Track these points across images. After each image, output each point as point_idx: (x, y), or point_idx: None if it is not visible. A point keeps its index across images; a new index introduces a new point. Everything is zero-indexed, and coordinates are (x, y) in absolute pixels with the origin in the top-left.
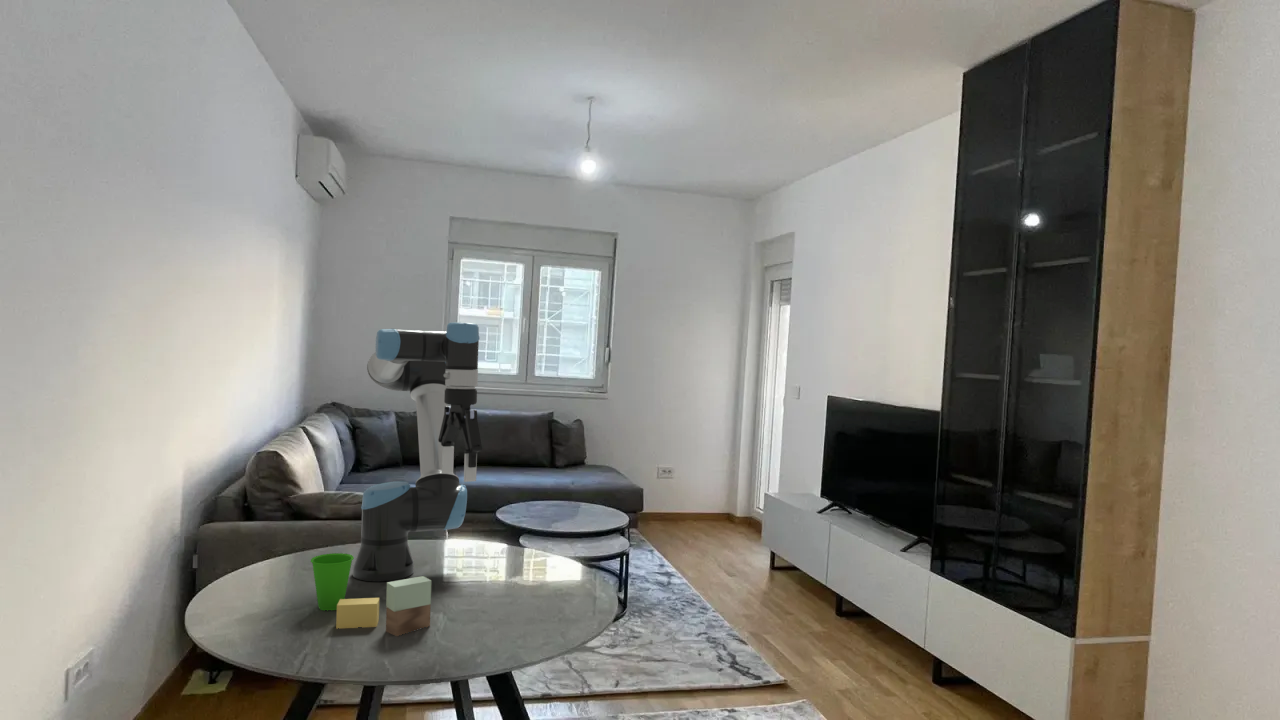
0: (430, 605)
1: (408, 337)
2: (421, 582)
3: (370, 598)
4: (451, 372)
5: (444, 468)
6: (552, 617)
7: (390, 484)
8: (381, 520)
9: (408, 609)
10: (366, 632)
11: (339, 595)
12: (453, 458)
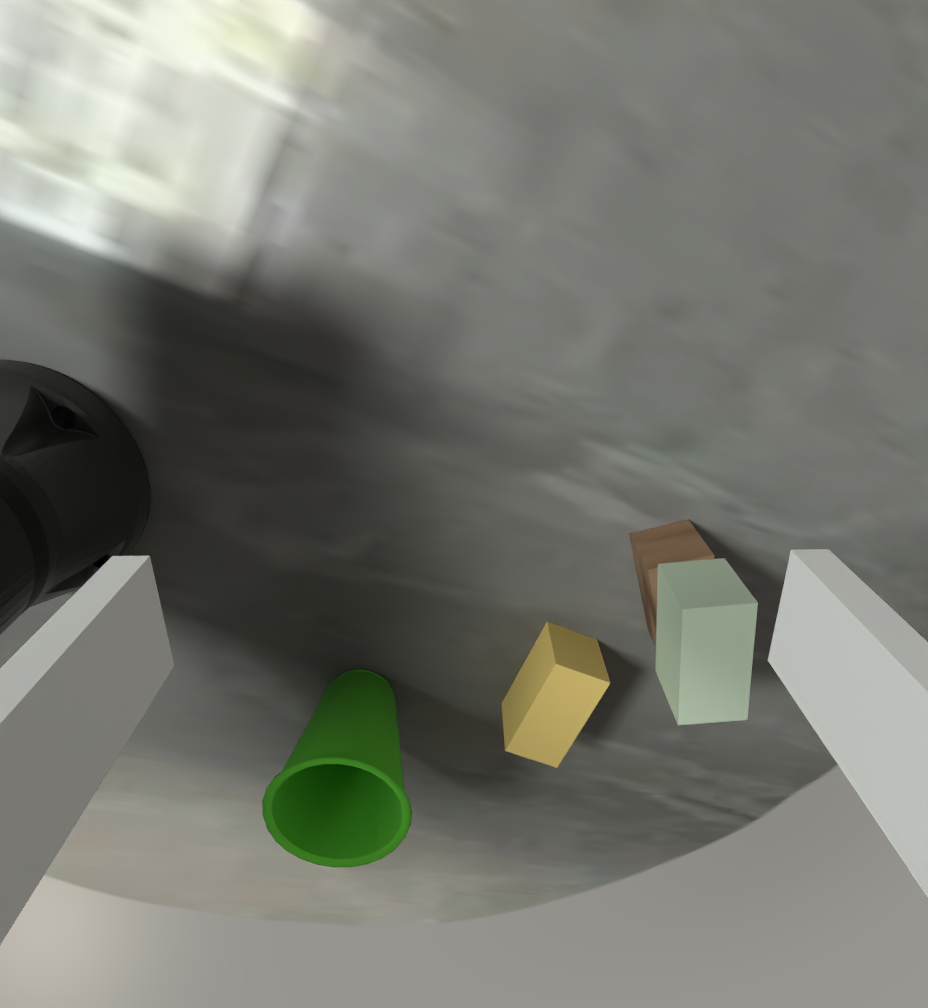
0: (710, 550)
1: None
2: (754, 637)
3: (549, 686)
4: None
5: (148, 686)
6: (913, 83)
7: None
8: None
9: None
10: (624, 669)
11: (395, 714)
12: (55, 668)
